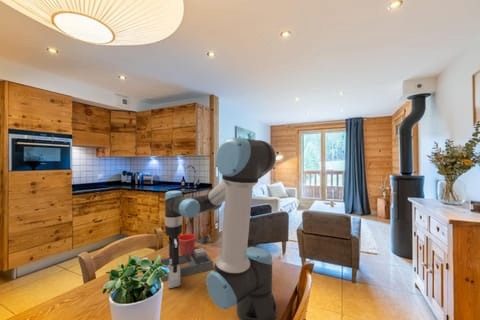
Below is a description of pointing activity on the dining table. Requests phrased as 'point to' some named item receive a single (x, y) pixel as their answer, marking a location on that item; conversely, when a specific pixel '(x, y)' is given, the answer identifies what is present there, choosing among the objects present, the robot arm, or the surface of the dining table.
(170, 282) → the block
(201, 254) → the seated nut
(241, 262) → the robot arm
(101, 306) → the dining table surface
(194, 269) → the grey compartment tray
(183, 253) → the flower pot
